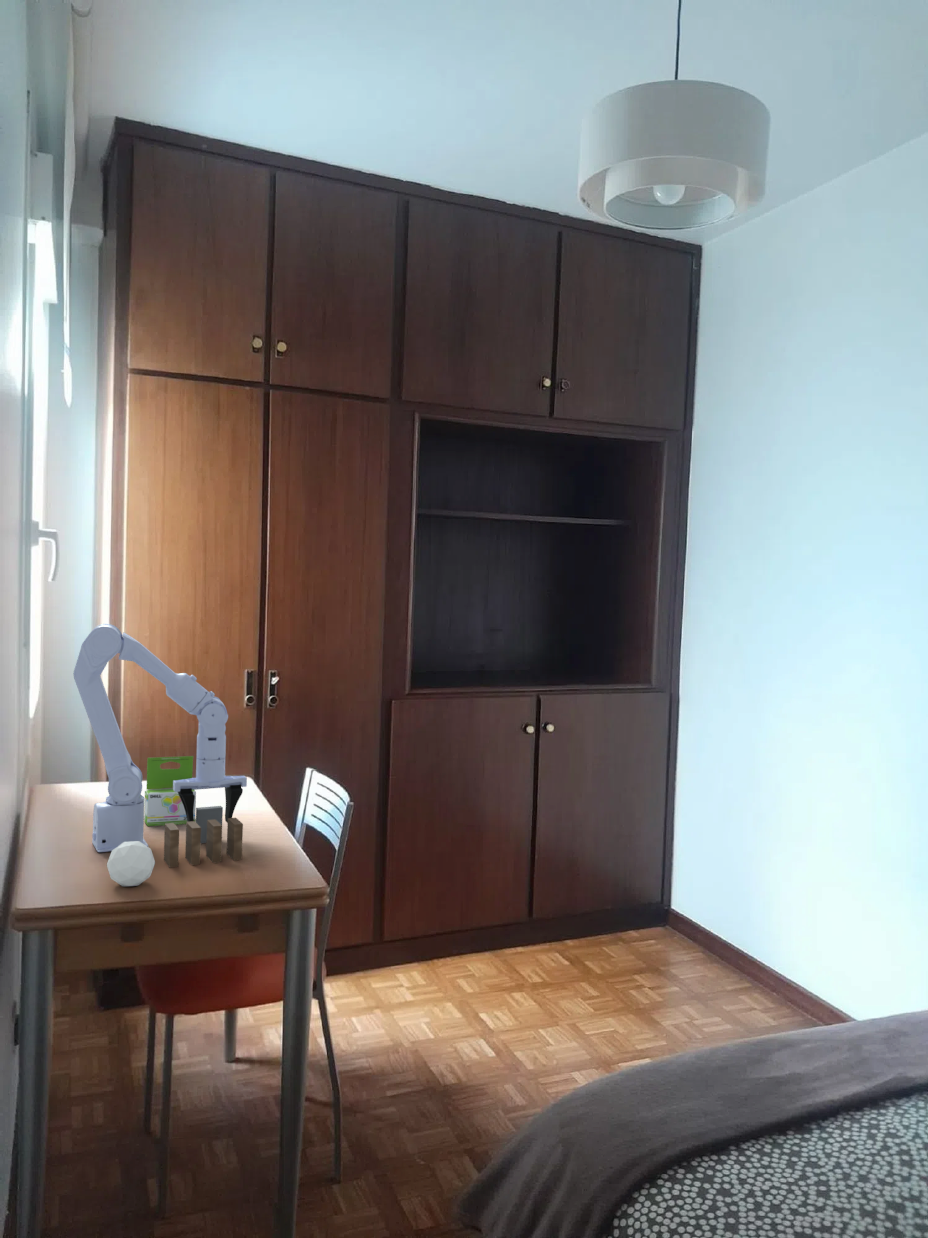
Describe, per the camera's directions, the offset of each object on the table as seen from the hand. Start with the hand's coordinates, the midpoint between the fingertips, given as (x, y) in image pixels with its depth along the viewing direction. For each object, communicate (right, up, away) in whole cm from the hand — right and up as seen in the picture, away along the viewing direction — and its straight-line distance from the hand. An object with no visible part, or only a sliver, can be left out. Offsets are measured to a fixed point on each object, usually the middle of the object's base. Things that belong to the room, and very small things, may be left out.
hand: (209, 823), depth 196 cm
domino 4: (+4, -4, -11) cm, 13 cm away
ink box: (-12, -3, +14) cm, 19 cm away
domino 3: (0, -4, 0) cm, 4 cm away
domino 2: (0, -4, -13) cm, 14 cm away
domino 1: (-3, -4, -15) cm, 16 cm away
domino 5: (+7, -4, -9) cm, 13 cm away
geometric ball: (-6, -5, -28) cm, 29 cm away
